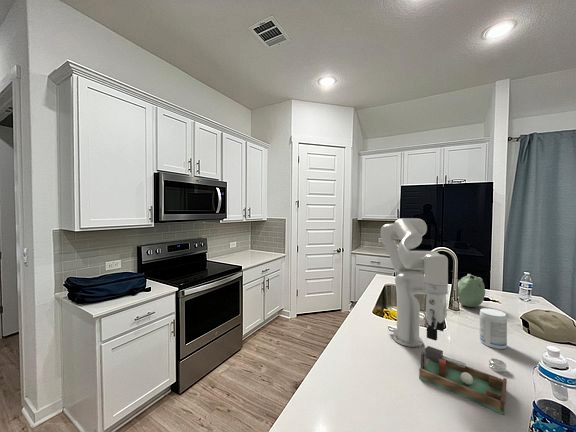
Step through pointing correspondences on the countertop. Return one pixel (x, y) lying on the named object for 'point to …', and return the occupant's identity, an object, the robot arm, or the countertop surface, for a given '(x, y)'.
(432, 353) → the multicoloured piece
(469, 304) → the cabbage
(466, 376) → the ball
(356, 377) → the countertop surface
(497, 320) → the supplement tub
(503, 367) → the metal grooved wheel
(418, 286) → the robot arm
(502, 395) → the pitch
